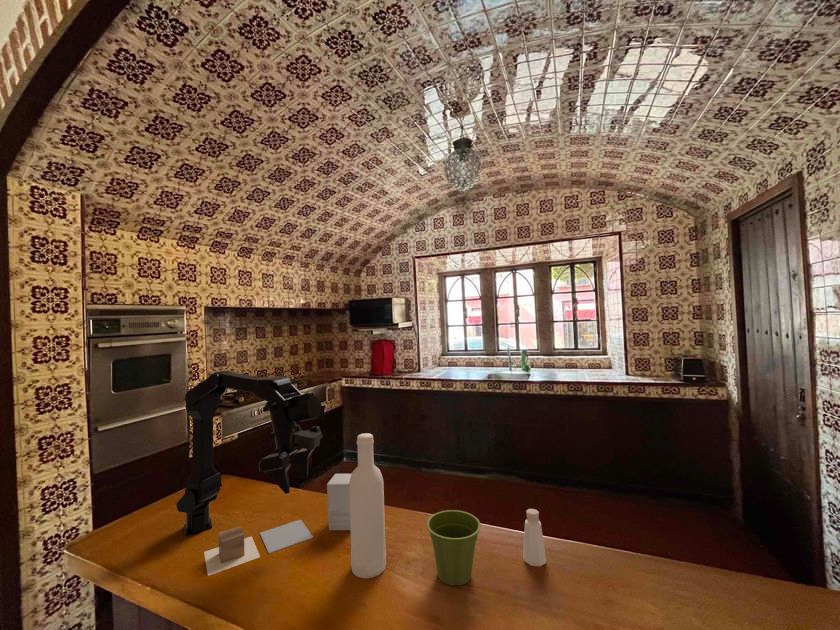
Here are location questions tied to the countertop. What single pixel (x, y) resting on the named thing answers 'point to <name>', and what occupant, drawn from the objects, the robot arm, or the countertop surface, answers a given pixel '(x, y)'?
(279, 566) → the countertop surface
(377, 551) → the bottle
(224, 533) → the walnut block
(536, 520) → the salt shaker
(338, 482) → the supplement box
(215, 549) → the card
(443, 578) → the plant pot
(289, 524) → the grey mat
